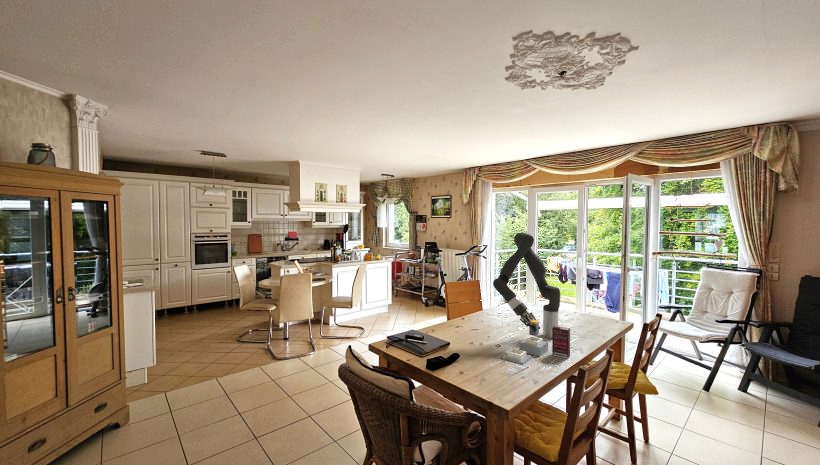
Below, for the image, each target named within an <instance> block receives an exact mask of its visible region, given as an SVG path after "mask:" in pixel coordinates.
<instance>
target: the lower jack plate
mask: <svg viewBox="0 0 820 465" xmlns="http://www.w3.org/2000/svg"><path fill="white" fill-rule="evenodd" d="M532 358H533V356H532V355H531V354H530V355H529V354H527V353H526V351H522V350H520V349H517V348H514V347H513V348H512V349H510V350H508V351H507V352H506V353H505V354H503V355H502V356H501V359H503V360H505V361H509V362H513V363H517V364H520V365H525V364H526V363H527V362H528V361H530V360H532Z"/></svg>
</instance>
